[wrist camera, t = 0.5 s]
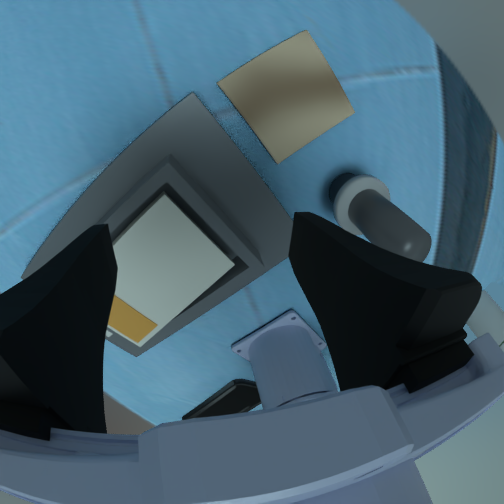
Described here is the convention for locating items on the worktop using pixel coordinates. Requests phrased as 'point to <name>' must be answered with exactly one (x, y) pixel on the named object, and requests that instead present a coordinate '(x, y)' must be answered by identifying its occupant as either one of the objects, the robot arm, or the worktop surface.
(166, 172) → the switch panel
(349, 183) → the dark round-ended cylinder
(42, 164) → the worktop surface
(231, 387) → the phone
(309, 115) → the pad
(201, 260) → the rocker switch
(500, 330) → the cylindrical container
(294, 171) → the worktop surface
